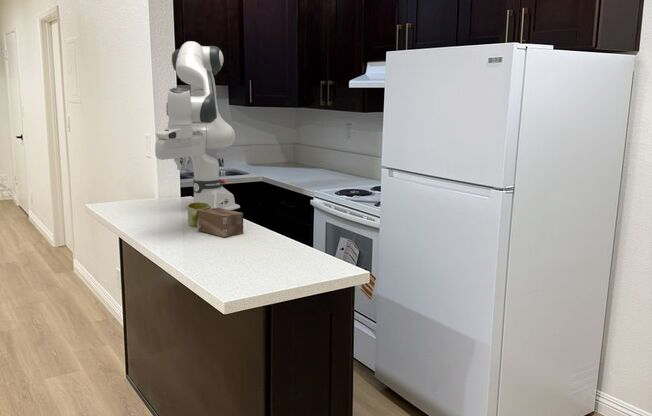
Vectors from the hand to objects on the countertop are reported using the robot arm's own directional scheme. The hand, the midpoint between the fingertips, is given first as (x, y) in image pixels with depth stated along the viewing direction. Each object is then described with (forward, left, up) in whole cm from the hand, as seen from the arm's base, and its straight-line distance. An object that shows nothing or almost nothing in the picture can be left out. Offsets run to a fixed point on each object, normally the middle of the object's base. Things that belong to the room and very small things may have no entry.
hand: (181, 169), depth 221 cm
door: (-5, +11, -24) cm, 27 cm away
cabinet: (-10, +10, -24) cm, 28 cm away
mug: (-11, -6, -25) cm, 27 cm away
